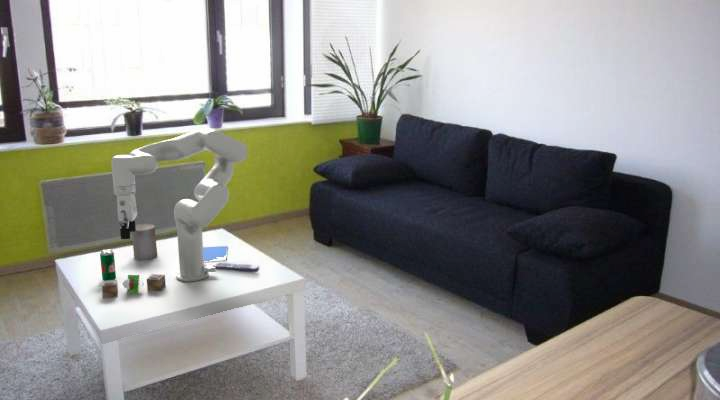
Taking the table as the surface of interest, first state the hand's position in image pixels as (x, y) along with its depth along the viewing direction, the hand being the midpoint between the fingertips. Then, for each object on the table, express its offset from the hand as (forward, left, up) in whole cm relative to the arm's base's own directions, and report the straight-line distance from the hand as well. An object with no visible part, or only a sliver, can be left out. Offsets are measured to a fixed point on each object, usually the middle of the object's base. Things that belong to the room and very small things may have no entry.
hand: (128, 235), depth 236 cm
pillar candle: (+3, -41, -23) cm, 47 cm away
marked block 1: (+8, +2, -22) cm, 24 cm away
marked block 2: (-8, -2, -22) cm, 24 cm away
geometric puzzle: (0, 0, -23) cm, 23 cm away
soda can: (+12, -14, -23) cm, 29 cm away
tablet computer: (-26, -40, -23) cm, 53 cm away
